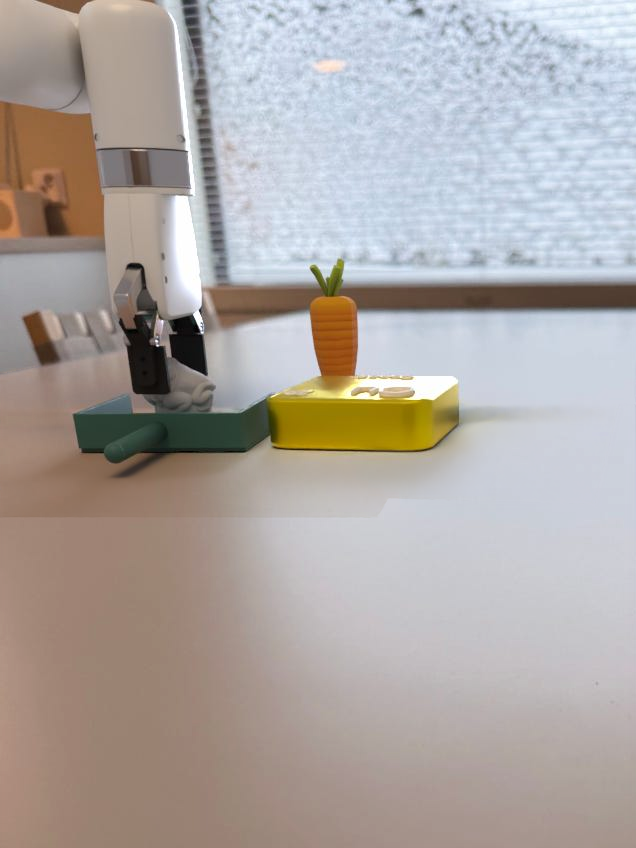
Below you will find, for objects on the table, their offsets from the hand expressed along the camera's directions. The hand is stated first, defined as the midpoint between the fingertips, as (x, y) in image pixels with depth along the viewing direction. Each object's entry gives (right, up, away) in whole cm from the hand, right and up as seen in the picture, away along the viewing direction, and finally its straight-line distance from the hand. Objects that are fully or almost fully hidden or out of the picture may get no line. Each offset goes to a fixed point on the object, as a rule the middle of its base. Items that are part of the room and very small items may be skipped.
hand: (172, 385), depth 87 cm
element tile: (+18, -4, +3) cm, 18 cm away
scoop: (0, -7, -3) cm, 7 cm away
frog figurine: (+1, -4, +2) cm, 5 cm away
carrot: (+13, +2, +18) cm, 22 cm away
